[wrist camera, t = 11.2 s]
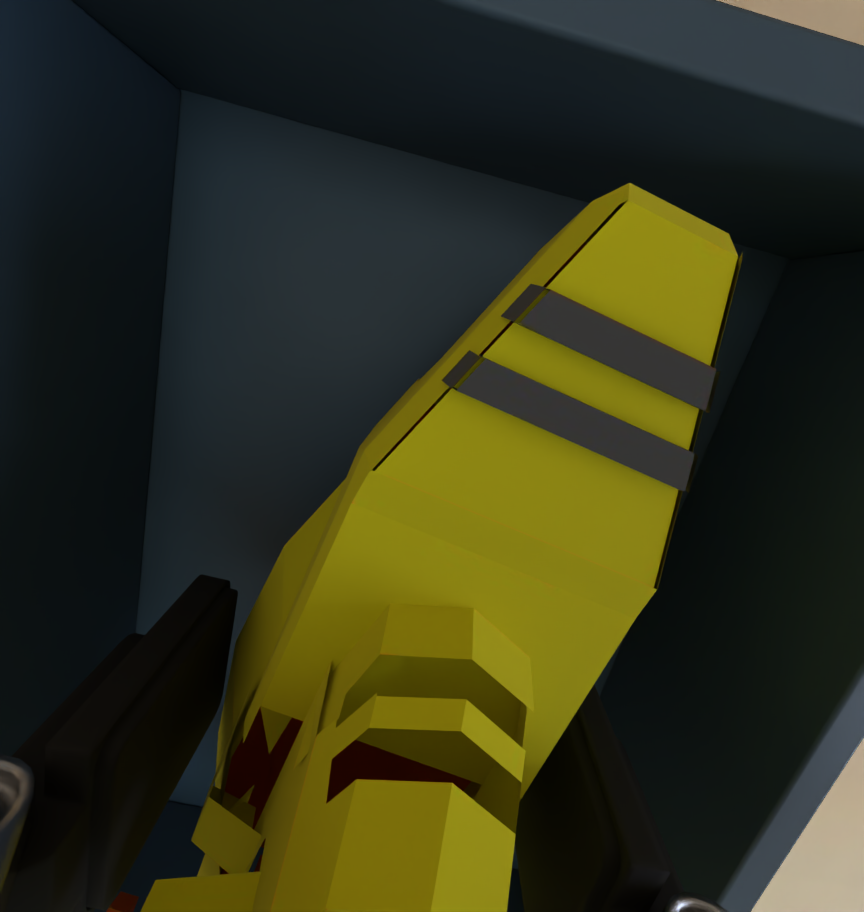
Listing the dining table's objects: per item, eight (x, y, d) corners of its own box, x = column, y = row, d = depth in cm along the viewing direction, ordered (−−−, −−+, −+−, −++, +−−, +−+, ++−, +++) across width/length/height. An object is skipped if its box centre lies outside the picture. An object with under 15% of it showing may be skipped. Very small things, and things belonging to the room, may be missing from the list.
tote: (167, 56, 11) (-212, -290, 5) (811, 238, 12) (1244, 158, 5) (112, 785, 17) (-79, 1063, 11) (533, 868, 18) (583, 1171, 12)
